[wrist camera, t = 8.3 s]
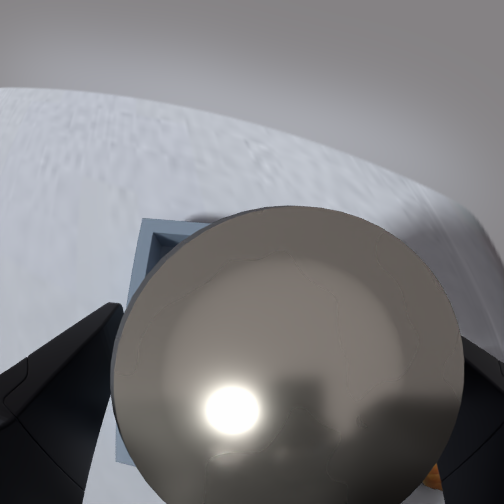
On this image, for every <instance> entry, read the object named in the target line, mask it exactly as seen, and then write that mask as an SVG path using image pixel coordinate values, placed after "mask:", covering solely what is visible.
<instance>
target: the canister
mask: <svg viewBox="0 0 504 504" xmlns="http://www.w3.org/2000/svg"><path fill="white" fill-rule="evenodd" d="M463 385H464V355H463V346H462V340H461V335H460V331H459V327H458V322H457V320H456V317H455V314H454V311H453V309H452V306H451V303H450V301H449V299H448V298H447V296H446V294H445V292H444V290H443V288H442V286H441V284H440V283H439V282H438V280H437V279H436V277H435V276H434V274H433V273H432V271H431V270H430V269H429V267H428V266H427V265H426V264H425V263H424V262H423V261H422V260H421V259H420V257H419V256H418V255H417V254H416V253H415V252H414V251H412V250H411V249H410V248H409V247H408V246H407V245H405V244H404V243H403V242H402V241H401V240H399V239H398V238H396V237H395V236H393V235H392V234H390V233H389V232H387V231H386V230H384V229H383V228H381V227H379V226H377V225H375V224H373V223H370V222H368V221H366V220H364V219H362V218H359V217H356V216H353V215H350V214H347V213H344V212H340V211H335V210H330V209H324V208H318V207H305V206H274V207H264V208H259V209H254V210H249V211H244V212H240V213H237V214H235V215H232V216H229V217H226V218H223V219H220V220H218V221H216V222H214V223H212V224H210V225H208V226H206V227H204V228H202V229H200V230H198V231H196V232H195V233H193V234H192V235H190V236H189V237H187V238H186V239H184V240H183V241H181V242H180V243H179V244H177V245H176V246H175V247H174V248H173V249H172V250H171V251H169V252H168V253H167V254H166V255H165V256H164V257H163V258H161V260H160V261H159V262H158V263H157V264H156V265H155V266H154V267H153V269H152V270H151V271H150V272H149V273H148V274H147V275H146V277H145V278H144V280H143V281H142V283H141V284H140V286H139V287H138V289H137V290H136V292H135V293H134V295H133V296H132V298H131V300H130V302H129V304H128V306H127V308H126V310H125V313H124V315H123V317H122V319H121V322H120V325H119V328H118V332H117V335H116V338H115V342H114V347H113V353H112V359H111V373H110V390H111V398H112V406H113V412H114V416H115V419H116V423H117V426H118V430H119V433H120V436H121V438H122V440H123V443H124V445H125V447H126V449H127V451H128V453H129V455H130V457H131V459H132V460H133V462H134V464H135V465H136V467H137V469H138V470H139V472H140V473H141V475H142V476H143V478H144V479H145V481H146V482H147V483H148V484H149V486H150V487H151V488H152V489H153V490H154V491H155V492H156V493H157V495H158V496H159V497H160V498H161V499H162V500H163V501H164V502H166V503H167V504H400V503H401V502H403V501H404V500H405V499H406V498H407V497H408V496H409V495H410V494H411V493H412V492H413V491H414V490H415V489H416V488H417V487H418V486H419V485H420V484H421V483H422V481H423V480H424V479H425V478H426V477H427V475H428V474H429V472H430V471H431V470H432V468H433V467H434V466H435V464H436V463H437V461H438V459H439V458H440V456H441V454H442V452H443V450H444V449H445V447H446V445H447V443H448V441H449V438H450V436H451V433H452V431H453V428H454V426H455V423H456V420H457V416H458V412H459V409H460V405H461V399H462V392H463Z"/></svg>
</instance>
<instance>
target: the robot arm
mask: <svg viewBox="0 0 504 504" xmlns="http://www.w3.org/2000/svg"><path fill="white" fill-rule="evenodd" d="M123 315H124V312H123V307H122V305H121V304H120V303H112V302H109V303H107V304H105V305H103V306H102V307H100V308H99V309H97V310H96V311H94V312H93V313H91V314H90V315H88V316H87V317H85V318H84V319H82V320H81V321H79V322H78V323H76V324H75V325H73V326H72V327H70V328H69V329H67V330H66V331H64V332H63V333H61V334H60V335H58V336H57V337H55V338H54V339H52V340H51V341H49V342H48V343H46V344H45V345H43V346H42V347H40V348H39V349H37V350H36V351H35V352H33V353H32V354H30V355H29V356H28V357H26V358H24V359H23V360H21V361H20V362H19V363H17V364H16V365H14V366H13V367H11V368H10V369H8V370H7V371H5V372H3V373H2V374H0V504H82V502H83V497H84V493H85V492H84V491H85V488H86V483H87V479H88V475H89V470H90V466H91V462H92V458H93V454H94V451H95V447H96V443H97V439H98V436H99V432H100V429H101V425H102V422H103V418H104V415H105V411H106V408H107V405H108V401H109V398H110V395H111V390H110V373H111V359H112V353H113V347H114V342H115V338H116V335H117V332H118V328H119V325H120V322H121V319H122V317H123ZM461 340H462V346H463V355H464V385H463V392H462V399H461V405H460V409H459V412H458V416H457V420H456V423H455V426H454V428H453V431H452V433H451V436H450V438H449V441H448V443H447V445H446V447H445V449H444V450H443V452H442V454H441V456H440V458H439V459H438V461H437V467H438V471H439V476H440V480H441V485H442V490H443V495H444V500H445V504H504V363H503V362H501V361H500V360H499V361H498V359H496V358H495V357H493V356H492V355H490V354H489V353H487V352H486V351H484V350H483V349H481V348H480V347H478V346H477V345H475V344H473V343H472V342H470V341H469V340H467V339H466V338H464V337H463V336H461Z"/></svg>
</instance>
